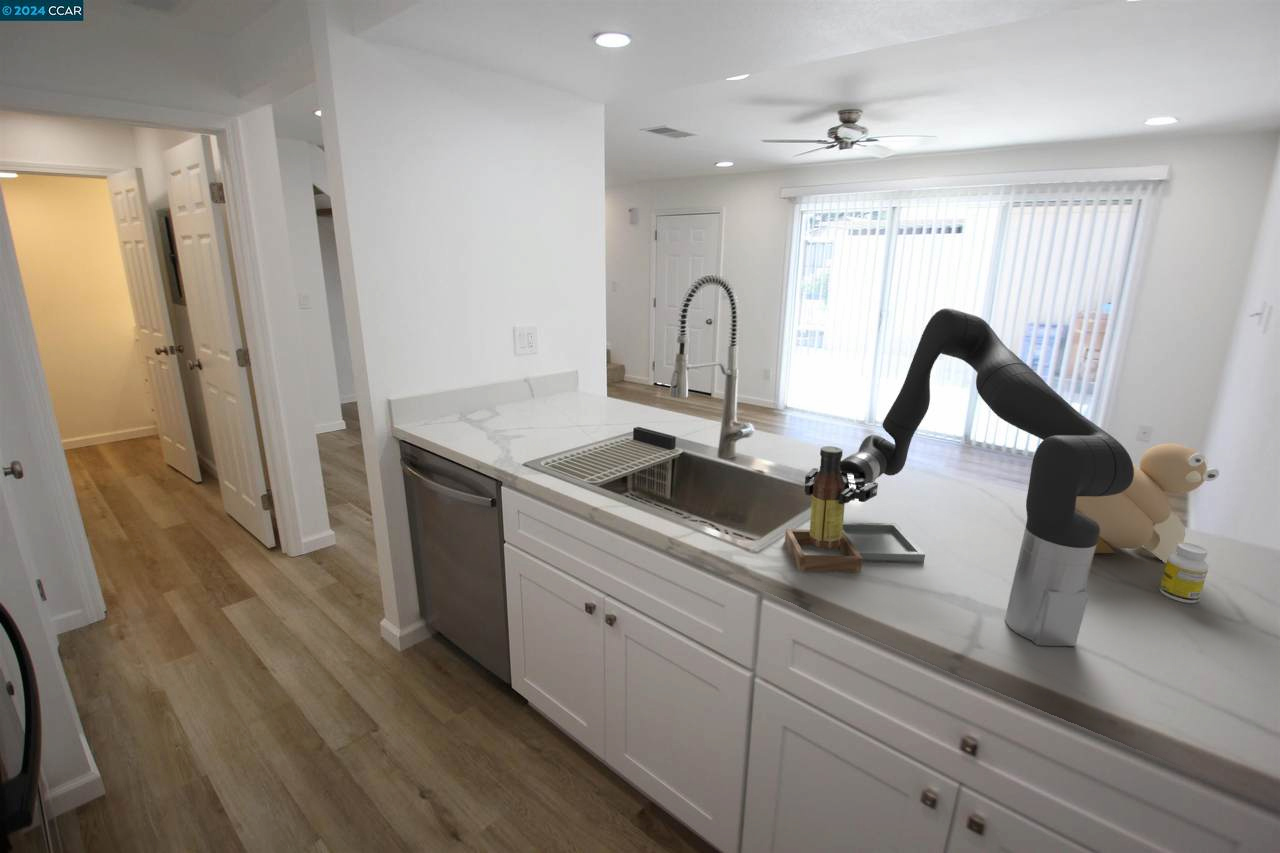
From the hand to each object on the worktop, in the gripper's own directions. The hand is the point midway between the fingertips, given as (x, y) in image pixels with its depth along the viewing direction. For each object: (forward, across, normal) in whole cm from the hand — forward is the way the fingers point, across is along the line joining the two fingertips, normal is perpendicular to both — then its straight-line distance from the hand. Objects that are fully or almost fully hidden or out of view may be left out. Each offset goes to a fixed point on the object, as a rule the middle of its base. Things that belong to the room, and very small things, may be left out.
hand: (824, 494), depth 111 cm
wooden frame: (-3, 0, +14) cm, 15 cm away
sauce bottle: (-2, 0, +11) cm, 11 cm away
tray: (-15, +6, +14) cm, 22 cm away
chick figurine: (-47, +42, +15) cm, 65 cm away
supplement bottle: (-33, +55, +15) cm, 66 cm away
